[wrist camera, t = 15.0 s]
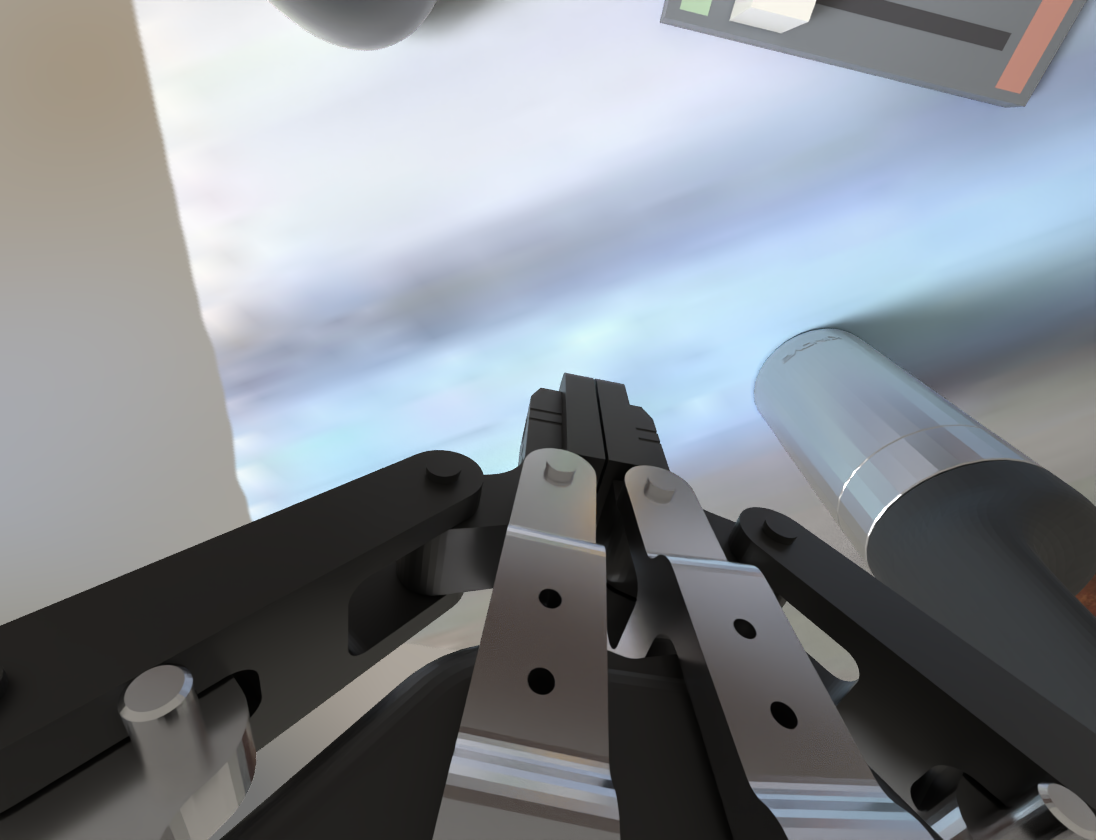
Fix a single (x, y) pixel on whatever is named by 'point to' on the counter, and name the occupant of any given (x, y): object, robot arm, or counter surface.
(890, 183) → the counter surface
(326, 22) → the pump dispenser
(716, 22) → the switch panel
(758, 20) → the on breaker
